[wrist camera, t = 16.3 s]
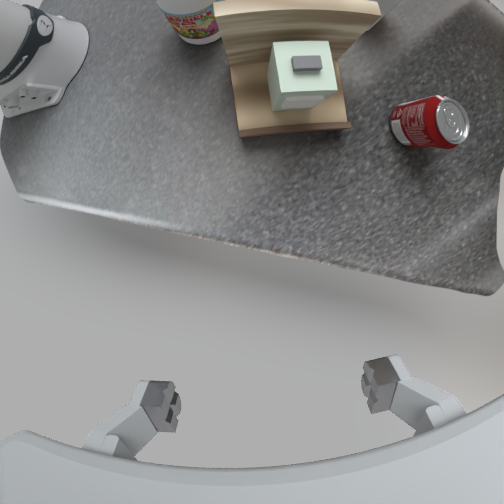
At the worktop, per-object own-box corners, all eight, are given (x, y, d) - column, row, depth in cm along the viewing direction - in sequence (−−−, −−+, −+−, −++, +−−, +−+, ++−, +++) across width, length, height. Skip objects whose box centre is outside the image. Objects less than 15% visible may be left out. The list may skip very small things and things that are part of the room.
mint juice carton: (272, 114, 33) (282, 94, 20) (267, 75, 31) (273, 38, 19) (311, 111, 32) (341, 92, 20) (305, 73, 31) (331, 37, 18)
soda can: (394, 150, 36) (440, 153, 25) (382, 106, 34) (425, 95, 23) (428, 143, 36) (477, 145, 24) (417, 101, 34) (464, 92, 22)
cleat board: (341, 130, 36) (403, 117, 19) (240, 138, 37) (229, 126, 20) (329, 56, 32) (377, 1, 15) (230, 62, 33) (213, 2, 16)
